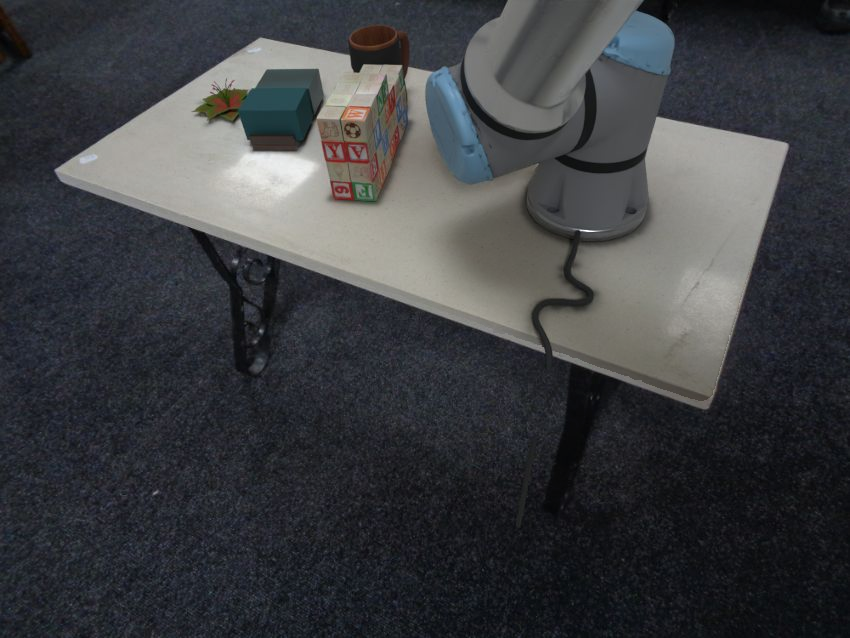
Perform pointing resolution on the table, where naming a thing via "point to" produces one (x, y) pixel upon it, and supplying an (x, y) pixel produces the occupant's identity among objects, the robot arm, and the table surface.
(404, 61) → the mug
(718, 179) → the table surface
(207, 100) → the lily flower
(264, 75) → the teal lidded box
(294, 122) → the block
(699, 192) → the table surface
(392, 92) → the stack of blocks
